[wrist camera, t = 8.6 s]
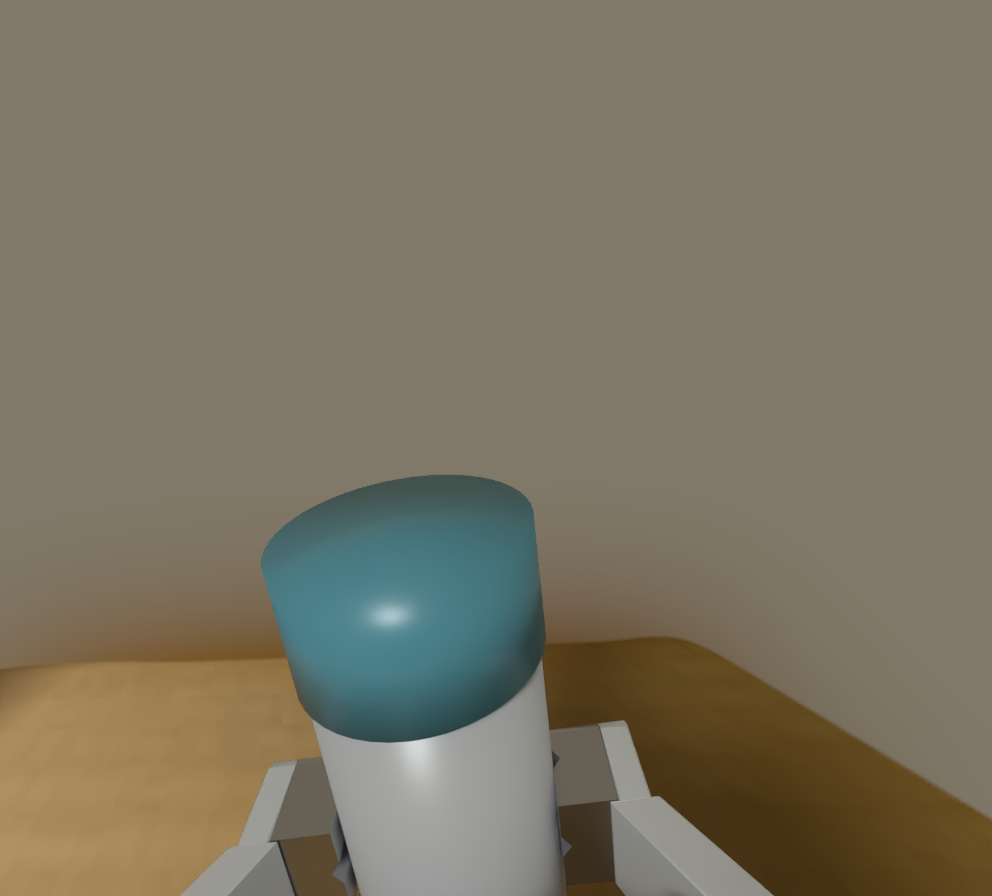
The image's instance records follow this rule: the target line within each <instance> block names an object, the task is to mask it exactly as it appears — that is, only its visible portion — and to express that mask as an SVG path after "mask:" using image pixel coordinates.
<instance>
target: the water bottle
mask: <svg viewBox="0 0 992 896" xmlns="http://www.w3.org/2000/svg"><path fill="white" fill-rule="evenodd" d="M261 559H262V560H261V568H262V571H263V575H264V578H265V582H266V585H267V589H268V592H269V596H270V599H271V602H272V607H273V610H274V614H275V617H276V621H277V624H278V628H279V632H280V635H281V639H282V642H283V645H284V649H285V653H286V656H287V660H288V664H289V667H290V671H291V674H292V678H293V681H294V685H295V688H296V692H297V695H298V699H299V701H300V703H301V705H302V706H303V708H304V710H305V711H306V712H307V713H308V715H309V716H310V717H311V718H312V721H313V725H314V728H315V732H316V736H317V739H318V743H319V746H320V750H321V754H322V757H323V761H324V764H325V768H326V772H327V775H328V779H329V783H330V786H331V790H332V793H333V797H334V801H335V804H336V808H337V812H338V815H339V819H340V822H341V826H342V830H343V833H344V837H345V840H346V844H347V848H348V851H349V855H350V859H351V862H352V866H353V869H354V873H355V877H356V880H357V884H358V888H359V891H360V895H361V896H567V891H566V882H565V872H564V866H563V859H562V853H561V845H560V836H559V827H558V814H557V808H556V799H555V789H554V779H553V760H552V750H551V741H550V731H549V722H548V712H547V703H546V694H545V684H544V675H543V665H542V655H543V652H544V649H545V640H546V634H545V623H544V613H543V603H542V593H541V583H540V574H539V564H538V554H537V544H536V534H535V525H534V515H533V509H532V506H531V504H530V502H529V501H528V499H527V498H526V497H525V496H524V495H523V494H522V493H521V492H519V491H518V490H516V489H514V488H513V487H511V486H509V485H506V484H504V483H501V482H498V481H495V480H491V479H486V478H481V477H474V476H464V475H431V476H430V475H429V476H418V477H410V478H403V479H397V480H393V481H386V482H382V483H378V484H374V485H370V486H366V487H363V488H359V489H356V490H353V491H350V492H347V493H344V494H342V495H339V496H337V497H334V498H331V499H329V500H327V501H325V502H323V503H321V504H318V505H316V506H314V507H313V508H311V509H309V510H307V511H305V512H303V513H302V514H300V515H299V516H297V517H296V518H294V519H293V520H292V521H290V522H289V523H287V524H286V525H285V526H283V528H282V529H280V530H279V531H278V532H277V533H276V534H275V535H274V537H273V538H272V539H271V540H270V541H269V543H268V545H267V546H266V548H265V549H264V552H263V555H262V558H261Z"/></svg>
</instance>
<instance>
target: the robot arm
mask: <svg viewBox="0 0 992 896" xmlns="http://www.w3.org/2000/svg"><path fill="white" fill-rule="evenodd" d="M549 731H550V741H551V750H552V760H553V779H554V789H555V799H556V808H557V814H558V827H559V836H560V845H561V853H562V859H563V866H564V872H565V878H566V885H572V884H584V883H595V882H607V881H616V884H617V886H618V887H619V888H620V890H621V891H622V892H623V893H624V895H625V896H774V895H772V894H771V893H770V892H769V891H768V890H767V889H765V888H764V887H763V886H762V885H761V884H760V883H759V882H757V881H756V880H755V879H754V878H753V877H752V876H751V875H749V874H748V873H747V872H746V871H745V870H744V869H743V868H741V867H740V866H739V865H738V864H737V863H736V862H735V861H733V860H732V859H731V858H730V857H729V856H728V855H727V854H725V853H724V852H723V851H722V850H721V849H720V848H718V847H717V846H716V845H715V844H714V843H713V842H712V841H710V840H709V839H708V838H707V837H706V836H705V835H704V834H702V833H701V832H700V831H699V830H698V829H697V828H696V827H694V826H693V825H692V824H691V823H690V822H689V821H688V820H686V819H685V818H684V817H683V816H682V815H681V814H680V813H678V812H677V811H676V810H675V809H674V808H673V807H672V806H670V805H669V804H668V803H667V802H666V801H665V800H663V799H662V798H661V797H660V796H656V797H651V794H650V791H649V788H648V785H647V782H646V779H645V776H644V773H643V770H642V767H641V764H640V761H639V758H638V755H637V752H636V749H635V746H634V743H633V740H632V737H631V734H630V731H629V728H628V725H627V723H626V722H625V721H624V720H622V721H614V722H606V723H599V724H598V725H597V724H591V725H583V726H575V727H568V728H560V729H553V730H549ZM356 888H357V880H356V877H355V873H354V869H353V866H352V862H351V859H350V855H349V851H348V848H347V844H346V840H345V837H344V833H343V830H342V826H341V822H340V819H339V815H338V812H337V808H336V804H335V801H334V797H333V793H332V790H331V786H330V783H329V779H328V775H327V772H326V768H325V764H324V761H323V757H315V758H305V759H300V760H289V761H278V762H274V763H273V764H272V765H271V767H270V768H269V769H268V771H267V773H266V776H265V778H264V781H263V783H262V786H261V788H260V791H259V793H258V795H257V798H256V800H255V803H254V805H253V808H252V810H251V813H250V815H249V818H248V820H247V823H246V825H245V828H244V830H243V833H242V835H241V838H240V840H239V843H238V845H237V847H230V848H228V849H227V850H226V851H225V852H224V853H223V854H222V855H221V856H220V857H219V858H218V859H217V860H216V861H215V862H214V863H213V864H212V865H211V866H210V867H209V868H208V869H207V870H205V871H204V872H203V873H202V874H201V875H200V876H199V877H198V878H197V879H196V880H195V881H194V882H193V883H192V884H191V885H190V886H189V887H188V888H187V889H186V890H185V891H184V892H183V893H182V894H181V895H180V896H355V893H356Z"/></svg>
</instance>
